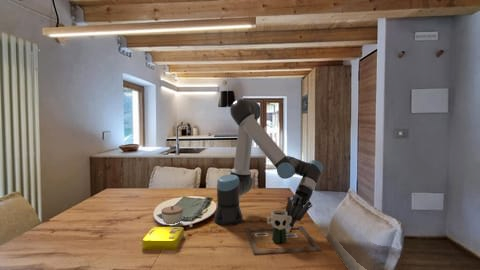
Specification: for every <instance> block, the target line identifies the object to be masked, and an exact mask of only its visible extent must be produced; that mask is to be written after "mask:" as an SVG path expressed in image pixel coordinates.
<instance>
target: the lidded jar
mask: <svg viewBox="0 0 480 270" xmlns="http://www.w3.org/2000/svg"><path fill="white" fill-rule="evenodd" d="M183 212H184V209H183V207H182V206H179V205H171V206H170V205H169V206H166V207H164V208H161V219H162V221H163V223H164V224H165V223H166V224H175V223H178V222H179V223H180V222H181V221H182V219H183ZM166 224H165V225H166Z"/></svg>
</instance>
